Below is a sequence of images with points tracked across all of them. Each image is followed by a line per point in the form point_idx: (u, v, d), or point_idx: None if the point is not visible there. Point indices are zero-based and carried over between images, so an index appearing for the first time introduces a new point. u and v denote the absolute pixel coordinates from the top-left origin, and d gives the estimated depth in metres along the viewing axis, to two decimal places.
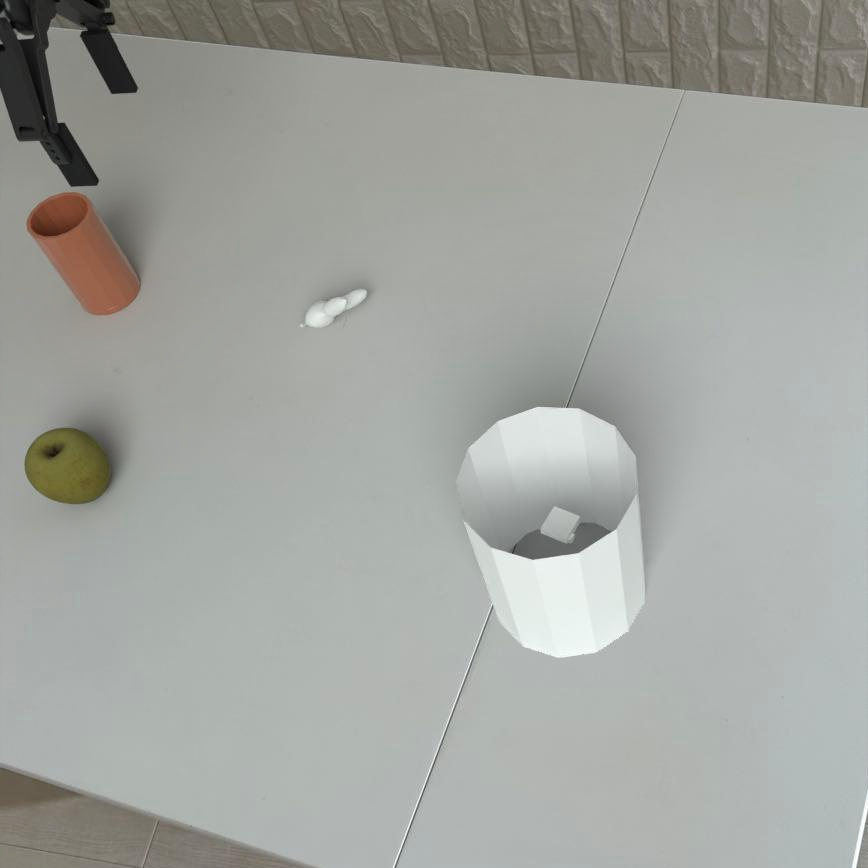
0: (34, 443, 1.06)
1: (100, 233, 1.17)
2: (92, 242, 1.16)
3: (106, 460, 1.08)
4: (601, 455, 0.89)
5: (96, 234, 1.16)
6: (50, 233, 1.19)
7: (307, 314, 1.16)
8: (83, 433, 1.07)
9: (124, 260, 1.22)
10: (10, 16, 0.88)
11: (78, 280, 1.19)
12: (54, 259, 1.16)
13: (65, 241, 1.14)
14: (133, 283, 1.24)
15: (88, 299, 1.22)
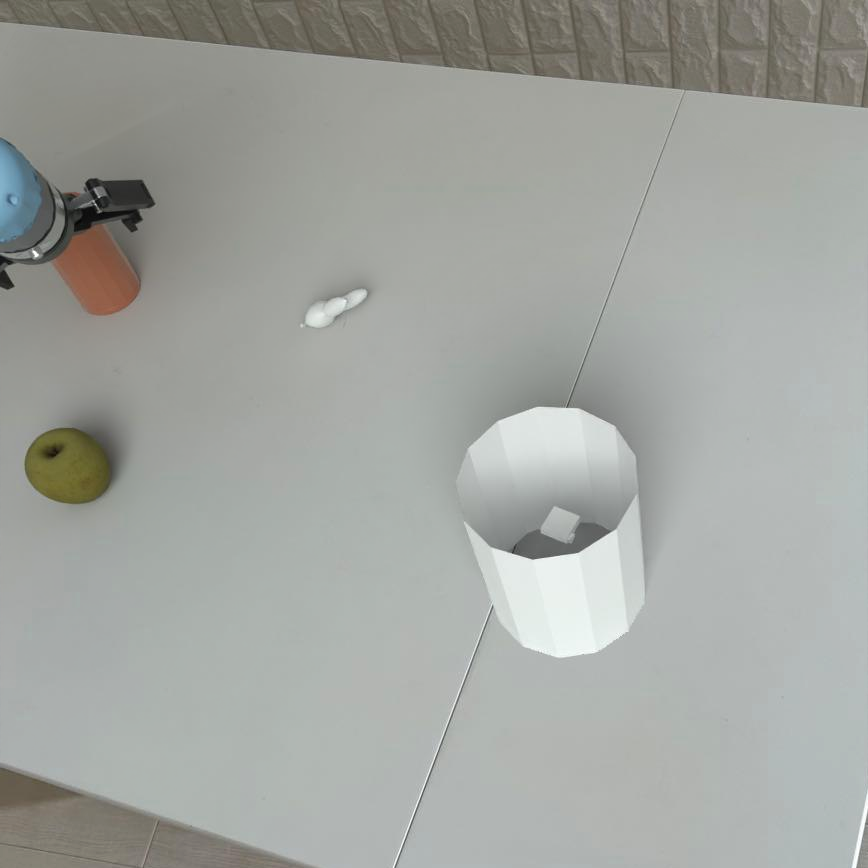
0: (34, 443, 1.06)
1: (100, 233, 1.17)
2: (92, 242, 1.16)
3: (107, 460, 1.08)
4: (601, 455, 0.89)
5: (96, 234, 1.16)
6: None
7: (307, 314, 1.16)
8: (83, 433, 1.07)
9: (124, 260, 1.22)
10: None
11: (78, 280, 1.19)
12: (54, 259, 1.16)
13: None
14: (133, 283, 1.24)
15: (88, 299, 1.22)
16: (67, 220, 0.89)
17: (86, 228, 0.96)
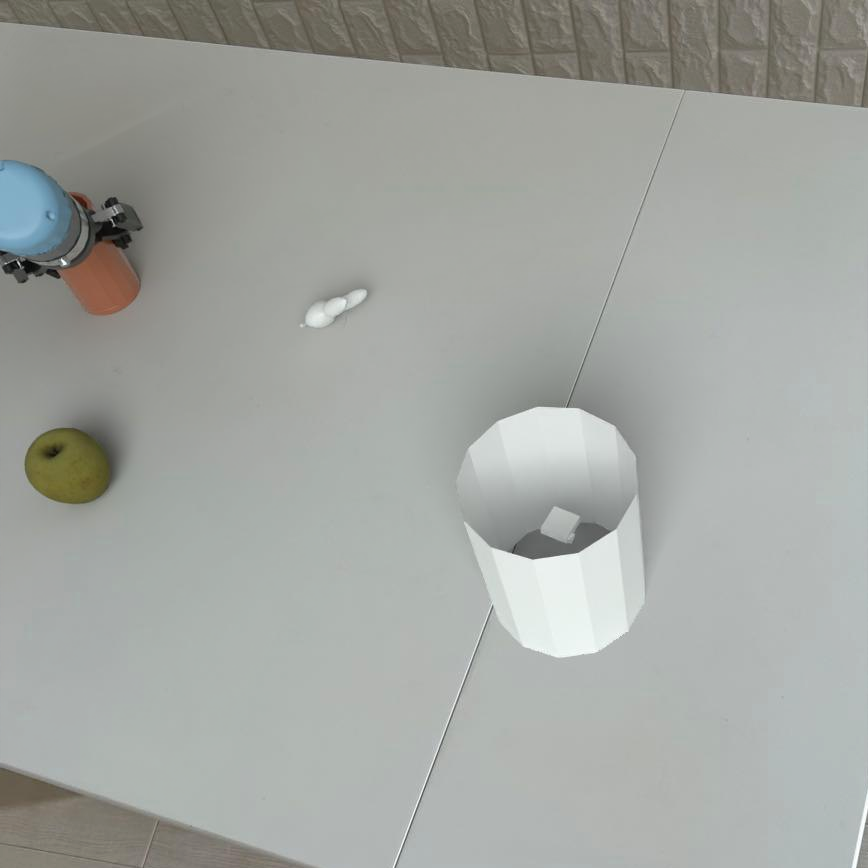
0: (34, 443, 1.06)
1: None
2: None
3: (107, 460, 1.08)
4: (601, 455, 0.89)
5: None
6: None
7: (307, 314, 1.16)
8: (83, 433, 1.07)
9: (124, 260, 1.22)
10: None
11: (78, 281, 1.19)
12: None
13: None
14: (133, 283, 1.24)
15: (88, 299, 1.21)
16: (90, 232, 1.04)
17: (99, 241, 1.12)
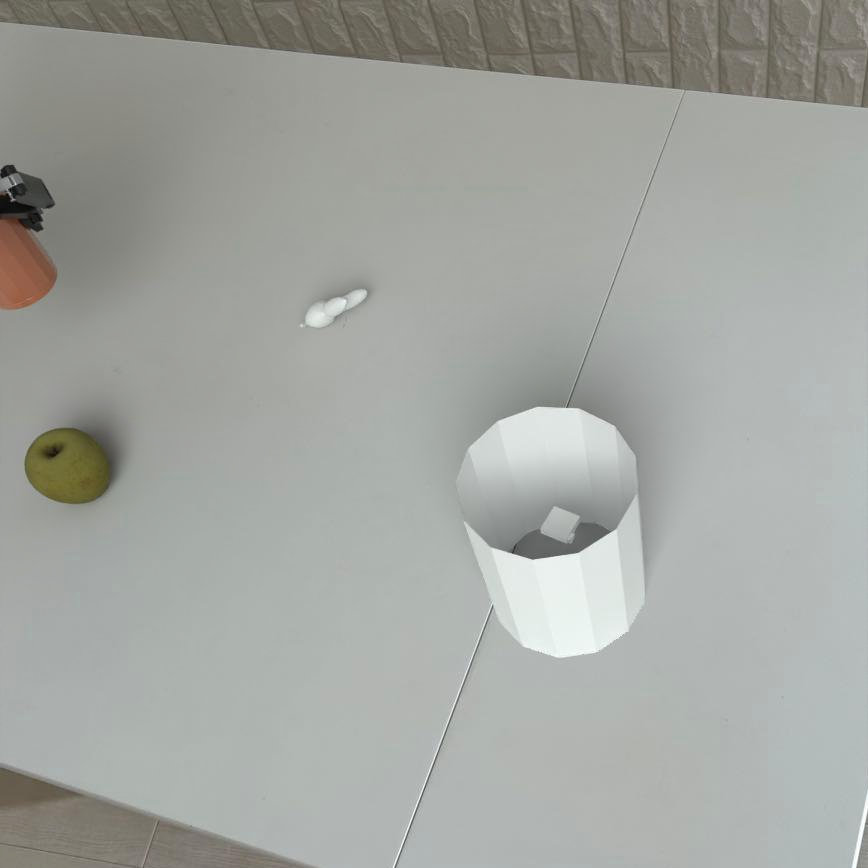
0: (34, 443, 1.06)
1: None
2: None
3: (107, 460, 1.08)
4: (601, 455, 0.89)
5: None
6: None
7: (307, 314, 1.16)
8: (83, 433, 1.07)
9: (36, 244, 1.03)
10: None
11: None
12: None
13: None
14: (48, 272, 1.04)
15: None
16: None
17: None
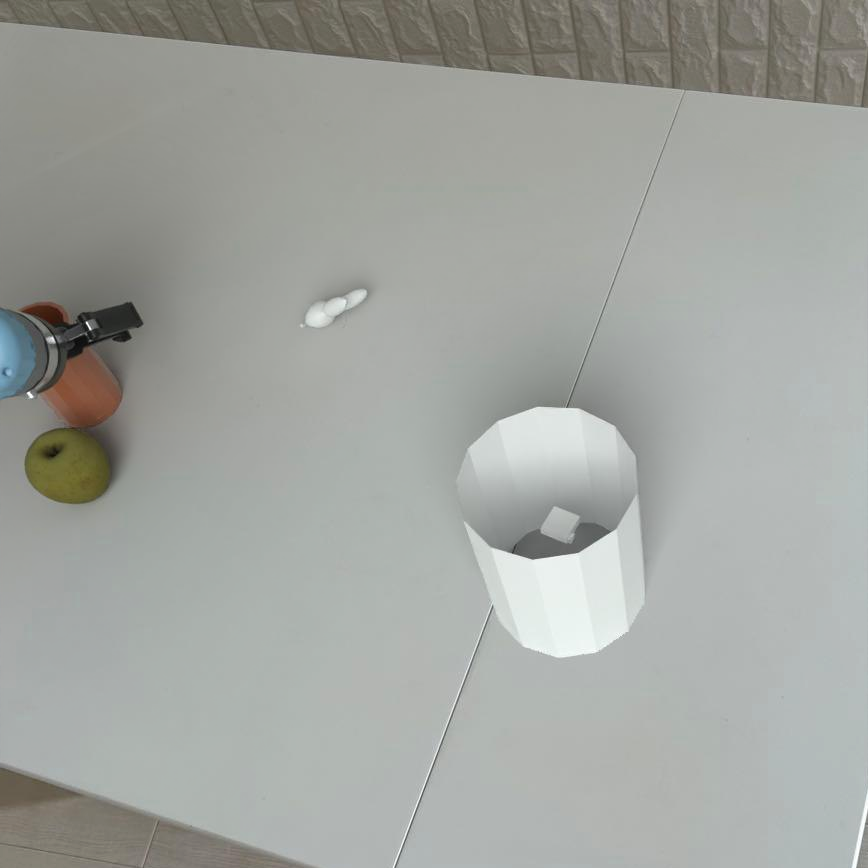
0: (34, 443, 1.06)
1: None
2: None
3: (106, 460, 1.08)
4: (601, 455, 0.89)
5: None
6: None
7: (307, 314, 1.16)
8: (83, 433, 1.07)
9: (104, 370, 1.13)
10: None
11: (54, 396, 1.10)
12: None
13: None
14: (114, 393, 1.15)
15: (65, 413, 1.13)
16: (60, 358, 0.95)
17: (78, 354, 1.02)
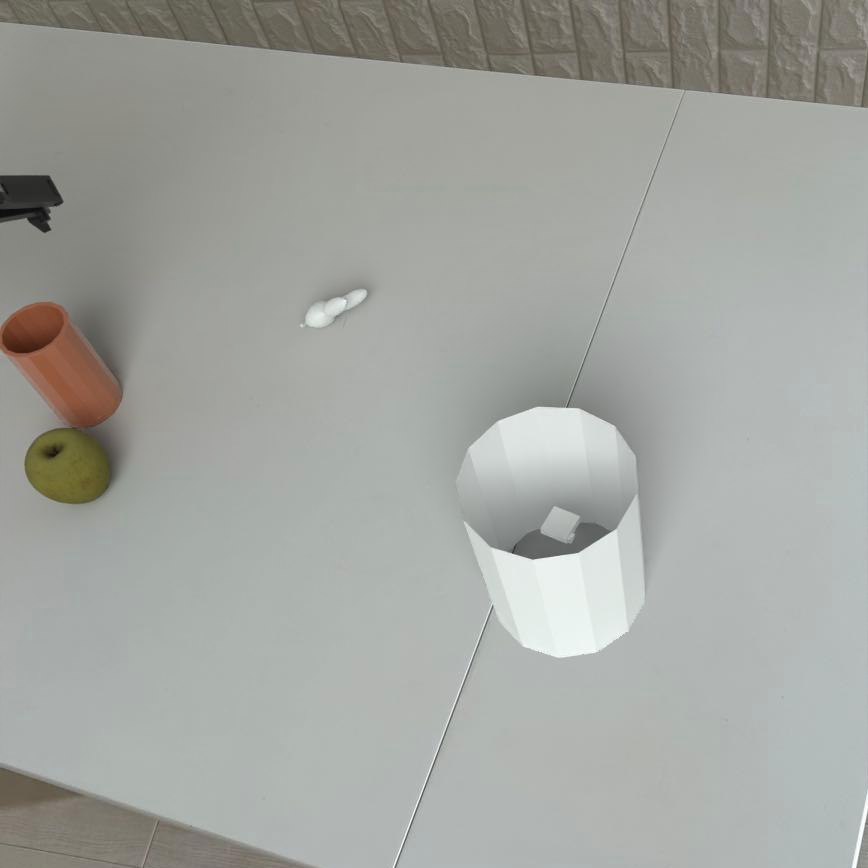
0: (34, 443, 1.06)
1: (78, 346, 1.08)
2: (68, 357, 1.07)
3: (107, 460, 1.08)
4: (601, 455, 0.89)
5: (73, 348, 1.08)
6: (25, 344, 1.10)
7: (307, 314, 1.16)
8: (83, 433, 1.07)
9: (104, 370, 1.13)
10: None
11: (54, 396, 1.10)
12: (28, 375, 1.08)
13: (39, 358, 1.05)
14: (114, 393, 1.15)
15: (65, 413, 1.13)
16: None
17: None
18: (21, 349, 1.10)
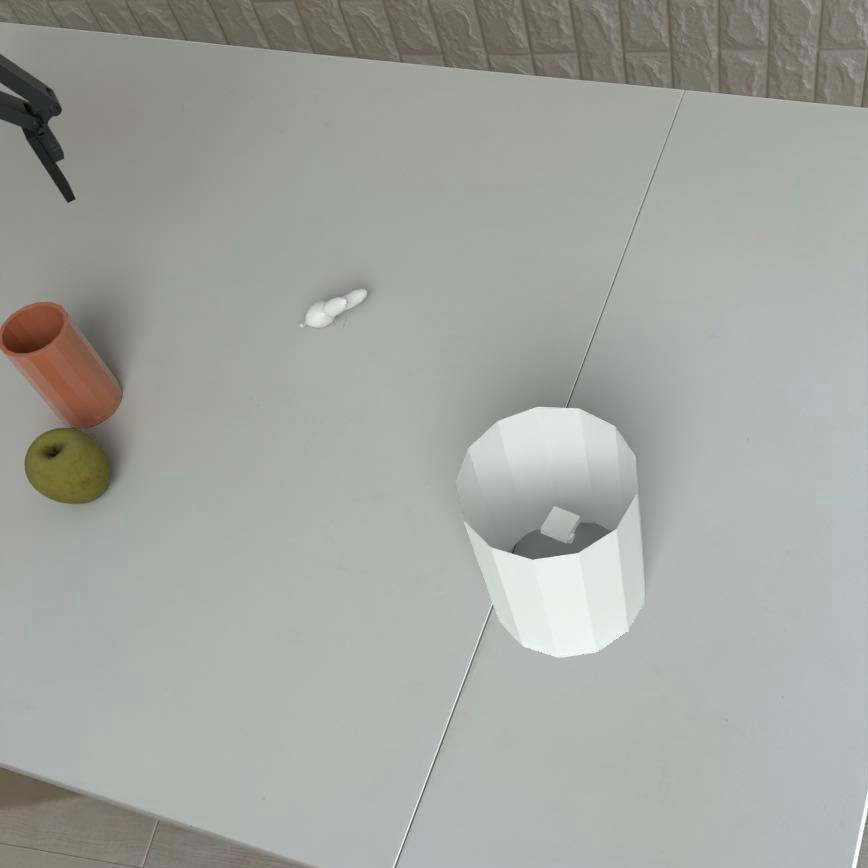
0: (34, 443, 1.06)
1: (78, 346, 1.08)
2: (68, 357, 1.07)
3: (107, 460, 1.08)
4: (601, 455, 0.89)
5: (73, 348, 1.08)
6: (25, 344, 1.10)
7: (307, 314, 1.16)
8: (83, 433, 1.07)
9: (104, 370, 1.13)
10: None
11: (54, 396, 1.10)
12: (28, 375, 1.08)
13: (39, 358, 1.05)
14: (114, 393, 1.15)
15: (65, 413, 1.13)
16: None
17: None
18: (21, 349, 1.10)
